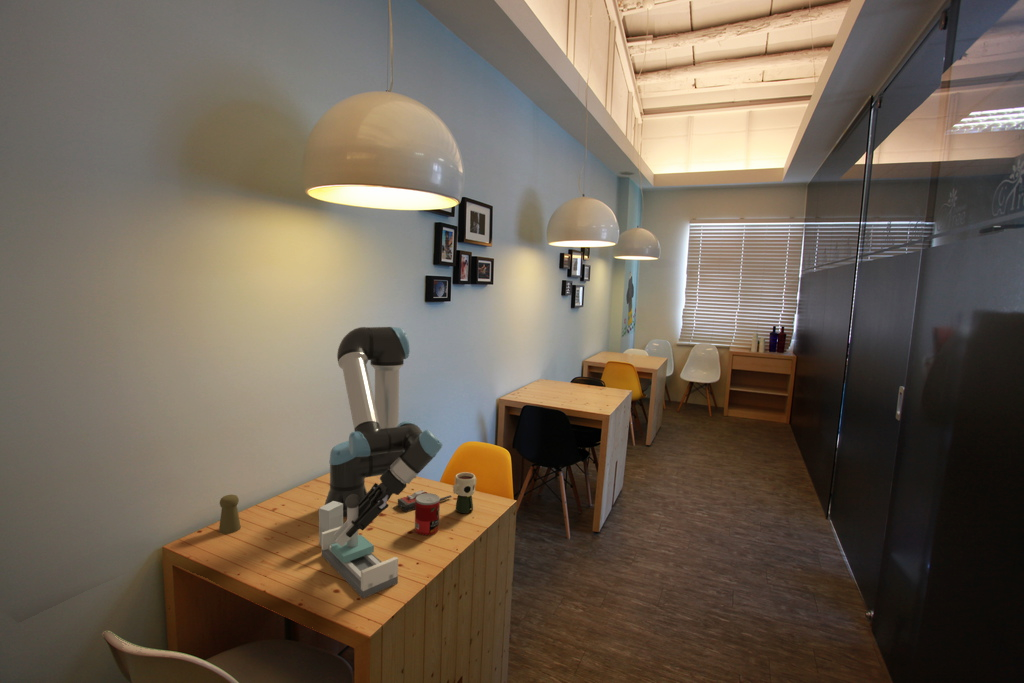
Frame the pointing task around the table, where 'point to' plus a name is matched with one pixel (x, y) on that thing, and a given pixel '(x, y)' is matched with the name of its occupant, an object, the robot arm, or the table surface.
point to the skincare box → (330, 517)
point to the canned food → (427, 513)
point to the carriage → (356, 543)
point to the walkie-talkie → (412, 501)
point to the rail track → (361, 568)
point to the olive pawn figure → (229, 515)
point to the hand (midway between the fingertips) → (338, 540)
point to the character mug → (464, 491)
